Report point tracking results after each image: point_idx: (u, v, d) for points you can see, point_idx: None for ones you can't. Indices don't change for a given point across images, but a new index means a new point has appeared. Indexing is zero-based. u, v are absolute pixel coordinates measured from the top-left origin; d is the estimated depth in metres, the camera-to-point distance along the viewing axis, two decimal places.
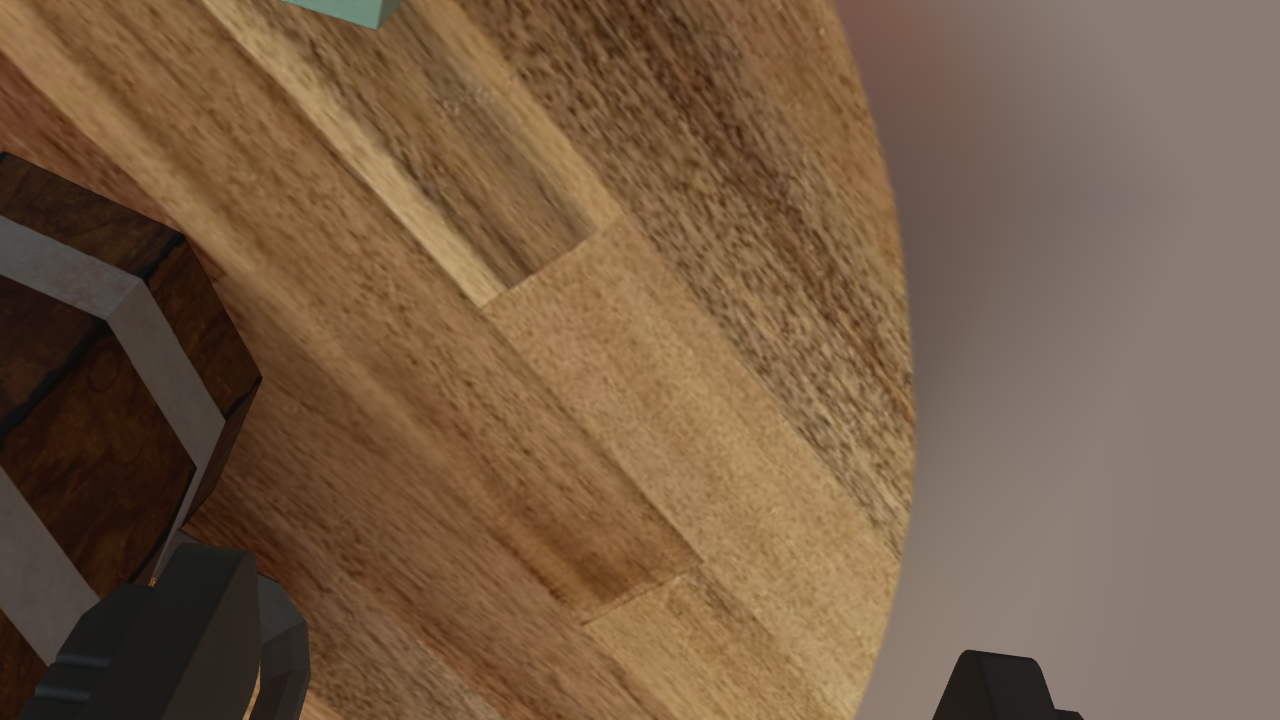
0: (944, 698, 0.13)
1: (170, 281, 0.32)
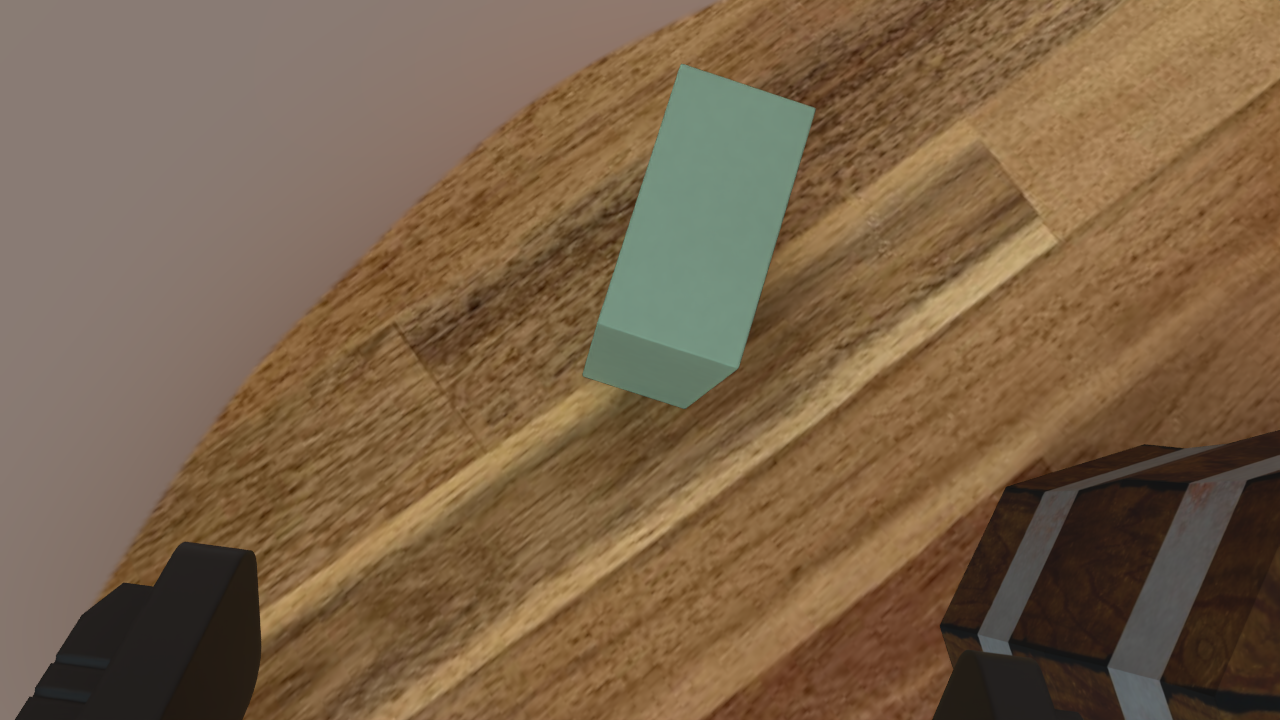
0: (944, 698, 0.13)
1: (1048, 484, 0.36)
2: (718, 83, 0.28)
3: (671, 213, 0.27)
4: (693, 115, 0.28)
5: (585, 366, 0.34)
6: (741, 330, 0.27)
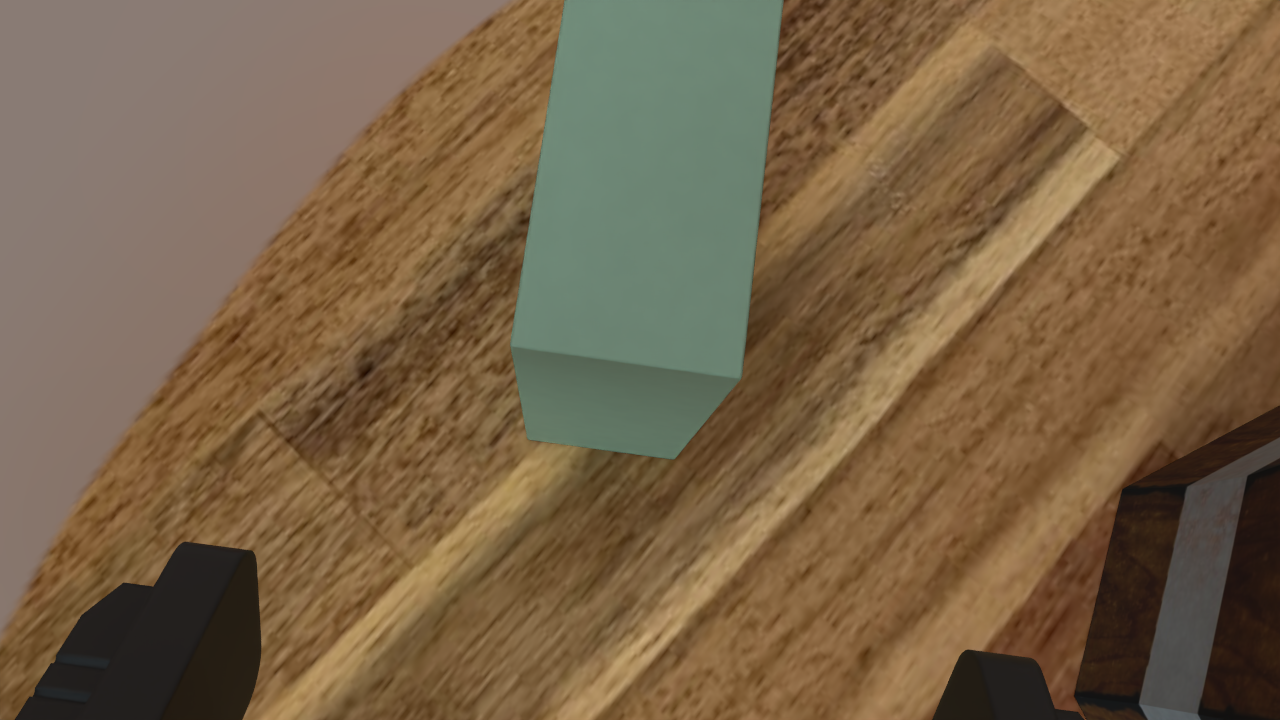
0: (944, 698, 0.13)
1: (1184, 475, 0.26)
2: None
3: (596, 161, 0.18)
4: (605, 13, 0.18)
5: (525, 424, 0.24)
6: (735, 319, 0.17)
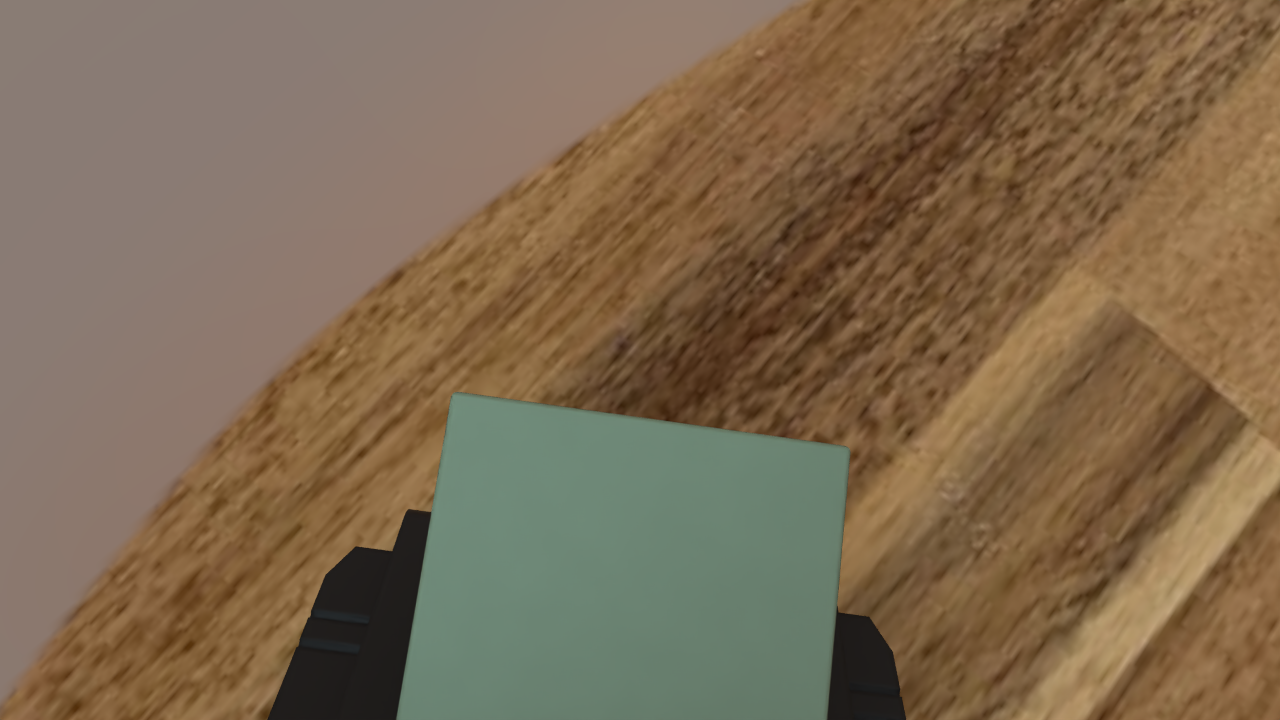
0: None
1: None
2: (566, 431, 0.10)
3: None
4: (508, 540, 0.10)
5: None
6: None
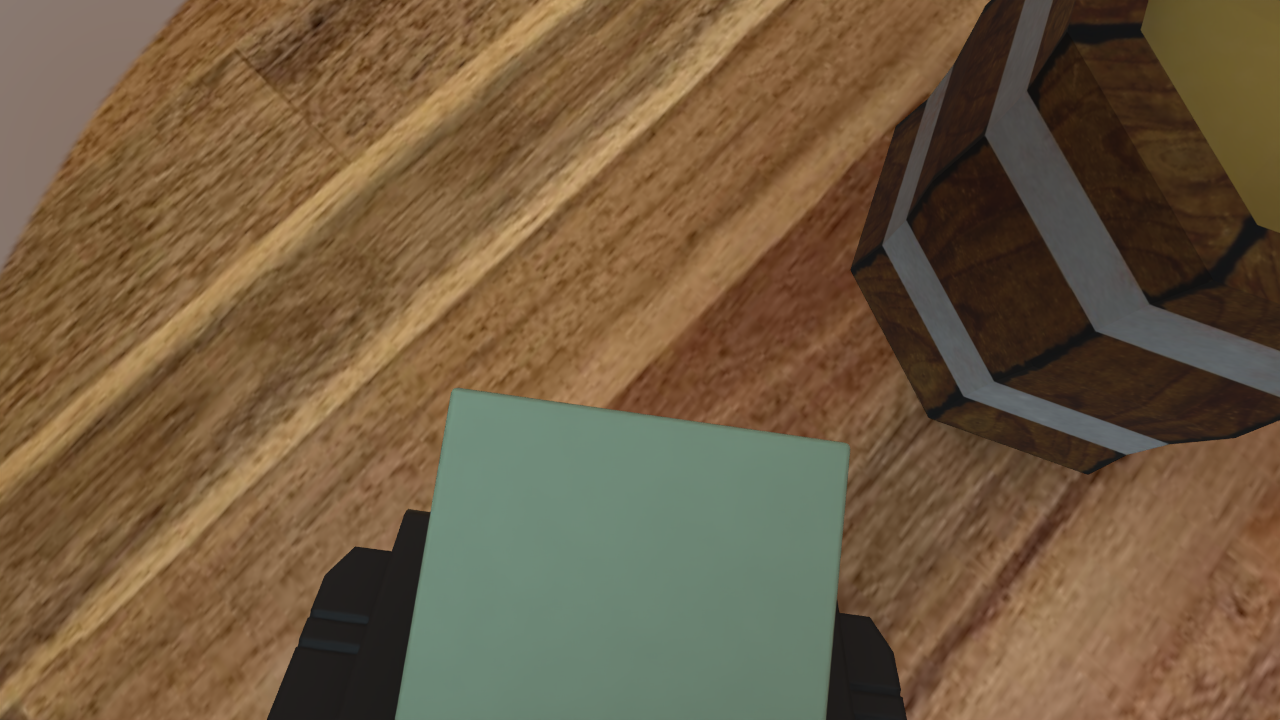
0: None
1: None
2: (566, 427, 0.10)
3: None
4: (508, 535, 0.10)
5: None
6: None
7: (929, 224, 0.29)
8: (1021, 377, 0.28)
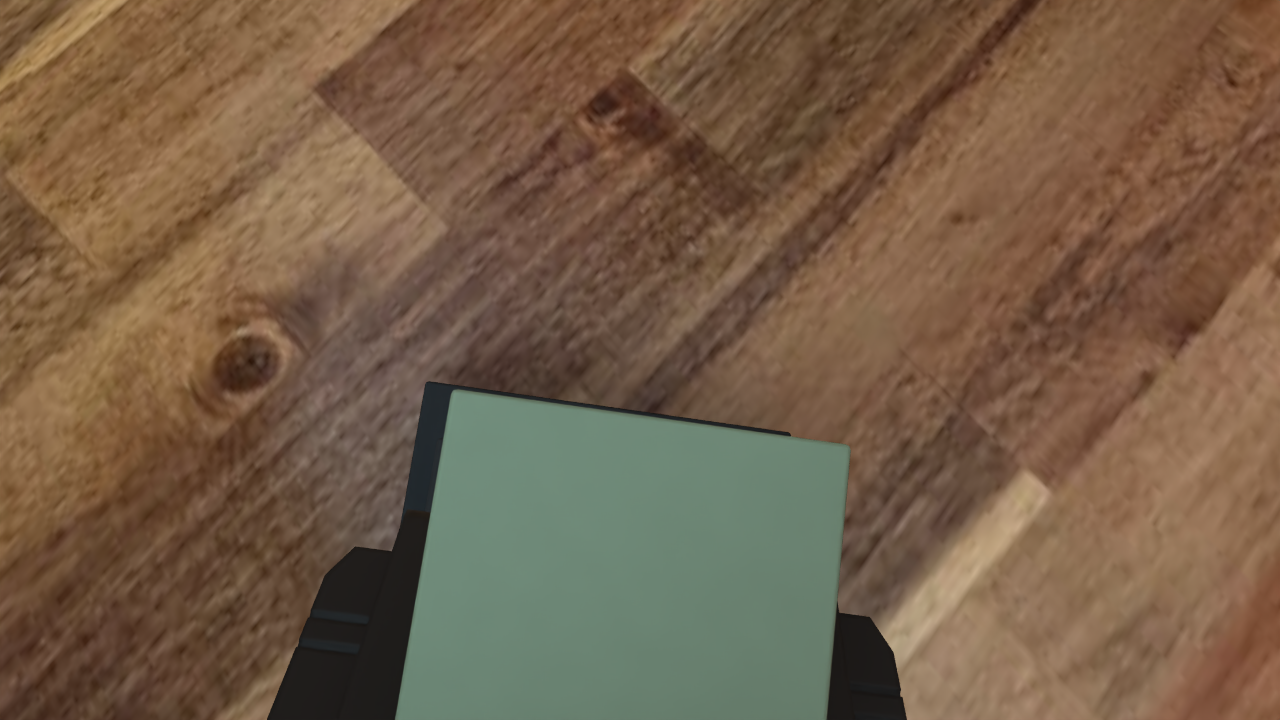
0: None
1: None
2: (566, 428, 0.10)
3: None
4: (508, 538, 0.10)
5: None
6: None
7: None
8: None
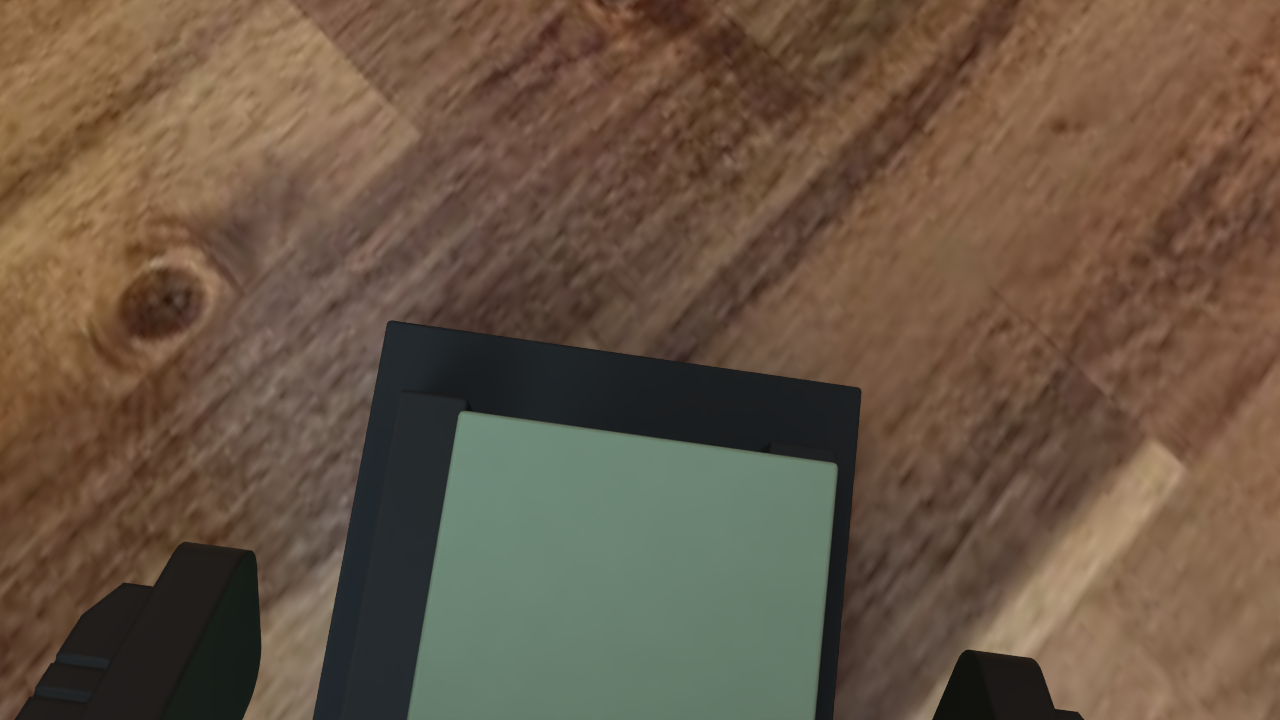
0: (944, 698, 0.13)
1: None
2: (567, 448, 0.10)
3: None
4: (513, 553, 0.10)
5: None
6: None
7: None
8: None
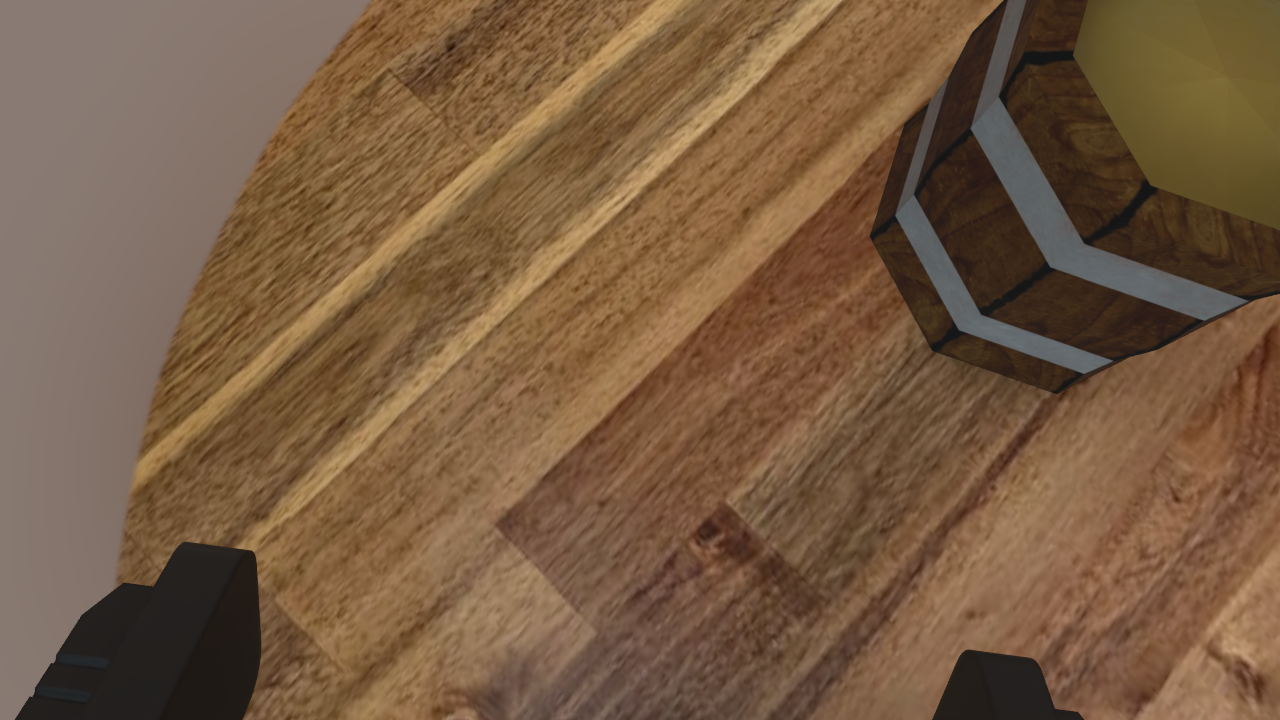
0: (944, 698, 0.13)
1: None
2: None
3: None
4: None
5: None
6: None
7: (931, 196, 0.39)
8: (1000, 309, 0.38)
